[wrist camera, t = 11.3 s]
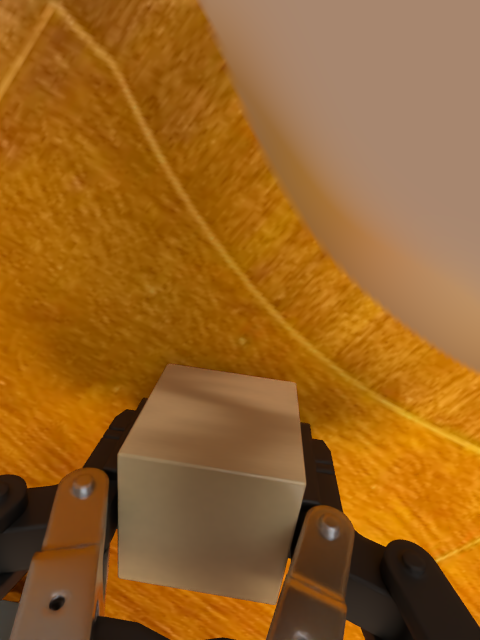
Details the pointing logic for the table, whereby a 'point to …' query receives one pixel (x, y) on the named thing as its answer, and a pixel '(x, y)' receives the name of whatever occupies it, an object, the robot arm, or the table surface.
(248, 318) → the table surface
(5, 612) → the drawer
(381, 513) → the table surface
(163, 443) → the block
